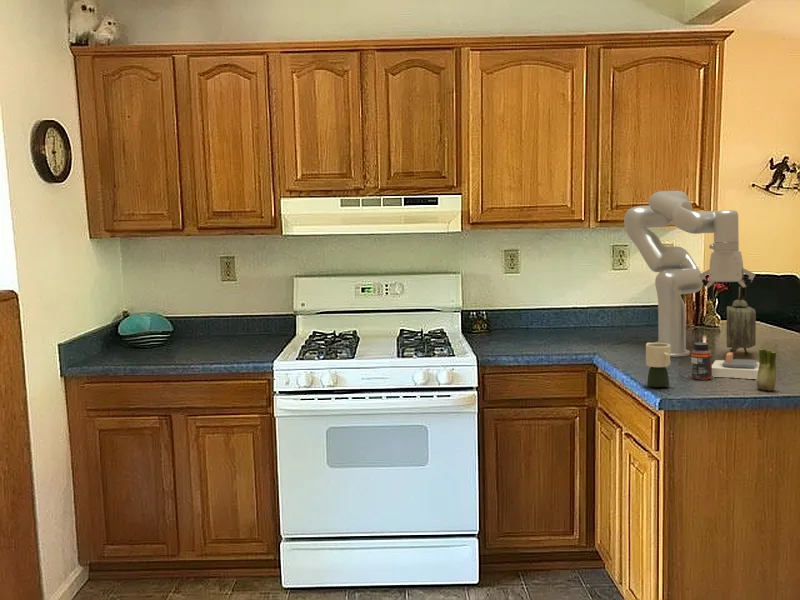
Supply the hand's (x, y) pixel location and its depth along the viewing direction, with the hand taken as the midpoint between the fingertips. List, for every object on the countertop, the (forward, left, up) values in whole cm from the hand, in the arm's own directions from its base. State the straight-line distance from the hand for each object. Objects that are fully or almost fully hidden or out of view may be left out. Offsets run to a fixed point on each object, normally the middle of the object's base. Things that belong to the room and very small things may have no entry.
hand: (726, 299), depth 250 cm
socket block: (+5, -12, -23) cm, 26 cm away
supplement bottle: (-5, -22, -23) cm, 32 cm away
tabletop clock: (+2, +21, -23) cm, 31 cm away
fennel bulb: (+14, -32, -23) cm, 42 cm away
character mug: (-15, -38, -23) cm, 47 cm away
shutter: (+5, -12, -20) cm, 24 cm away
